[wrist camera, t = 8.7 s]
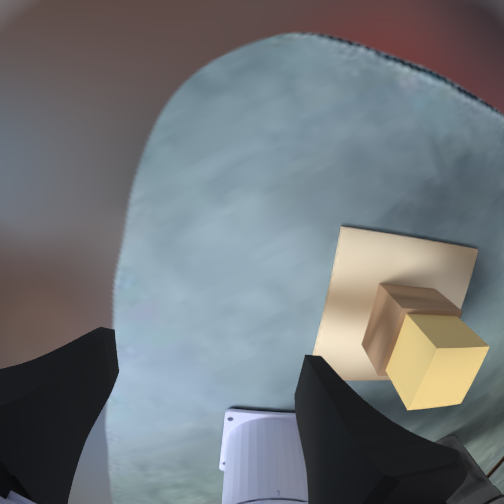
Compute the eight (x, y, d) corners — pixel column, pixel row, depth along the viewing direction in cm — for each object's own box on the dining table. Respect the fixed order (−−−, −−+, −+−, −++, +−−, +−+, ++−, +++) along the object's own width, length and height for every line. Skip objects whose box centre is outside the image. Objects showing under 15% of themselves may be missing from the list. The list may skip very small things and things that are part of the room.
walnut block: (415, 345, 23) (437, 373, 19) (361, 344, 22) (378, 376, 19) (435, 288, 21) (462, 311, 17) (379, 283, 21) (402, 308, 17)
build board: (431, 375, 24) (432, 377, 24) (306, 376, 24) (307, 379, 23) (475, 248, 21) (478, 249, 20) (340, 225, 20) (342, 227, 20)
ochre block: (435, 368, 19) (460, 403, 15) (385, 370, 18) (407, 410, 15) (456, 316, 17) (489, 346, 14) (406, 313, 17) (436, 348, 13)
